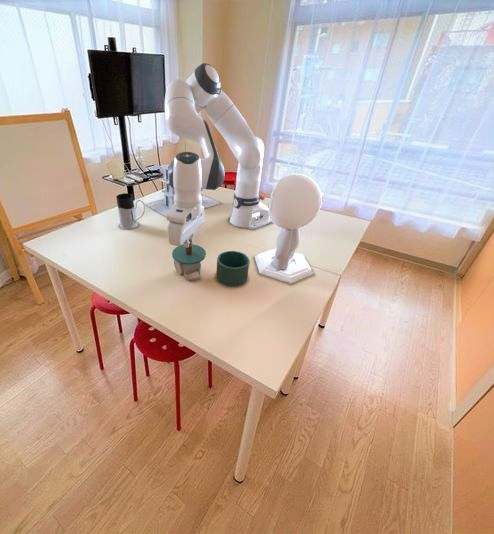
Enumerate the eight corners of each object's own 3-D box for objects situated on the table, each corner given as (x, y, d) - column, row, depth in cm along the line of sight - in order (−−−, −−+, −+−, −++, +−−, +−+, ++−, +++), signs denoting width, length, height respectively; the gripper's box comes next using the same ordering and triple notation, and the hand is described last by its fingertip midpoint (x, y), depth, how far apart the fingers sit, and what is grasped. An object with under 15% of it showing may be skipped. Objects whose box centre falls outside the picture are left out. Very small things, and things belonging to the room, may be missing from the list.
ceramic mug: (172, 269, 104) (171, 253, 100) (191, 263, 108) (191, 247, 103) (186, 285, 97) (186, 267, 92) (206, 277, 100) (206, 260, 96)
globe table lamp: (262, 246, 118) (276, 163, 98) (318, 261, 109) (345, 172, 89) (245, 269, 104) (257, 177, 84) (307, 289, 95) (337, 190, 75)
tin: (236, 265, 106) (238, 248, 102) (253, 281, 98) (255, 263, 94) (211, 273, 103) (211, 255, 98) (226, 290, 94) (227, 271, 90)
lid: (197, 244, 105) (197, 233, 102) (211, 260, 96) (212, 249, 93) (167, 251, 101) (166, 240, 98) (179, 269, 92) (179, 257, 89)
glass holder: (125, 220, 140) (120, 192, 131) (150, 223, 137) (147, 194, 128) (116, 228, 133) (111, 198, 124) (143, 231, 130) (139, 201, 121)
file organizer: (145, 204, 157) (141, 165, 145) (193, 191, 176) (192, 155, 163) (171, 219, 141) (169, 177, 129) (220, 203, 159) (222, 164, 147)
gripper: (193, 196, 96) (193, 231, 104) (163, 217, 81) (165, 256, 89) (209, 198, 94) (208, 234, 102) (182, 221, 79) (183, 261, 86)
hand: (188, 245), depth 95 cm, fingers closed, pressing on lid
